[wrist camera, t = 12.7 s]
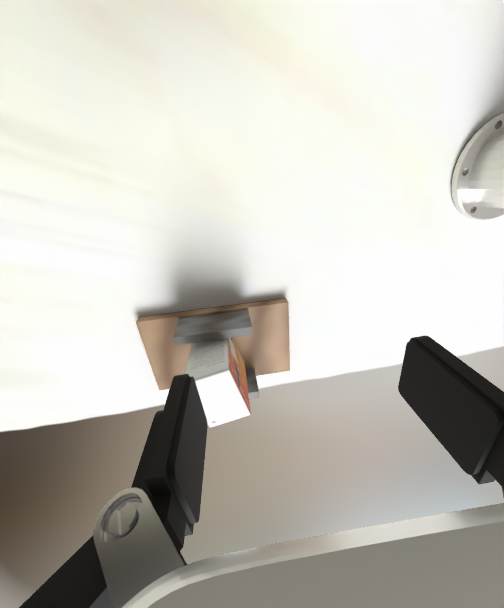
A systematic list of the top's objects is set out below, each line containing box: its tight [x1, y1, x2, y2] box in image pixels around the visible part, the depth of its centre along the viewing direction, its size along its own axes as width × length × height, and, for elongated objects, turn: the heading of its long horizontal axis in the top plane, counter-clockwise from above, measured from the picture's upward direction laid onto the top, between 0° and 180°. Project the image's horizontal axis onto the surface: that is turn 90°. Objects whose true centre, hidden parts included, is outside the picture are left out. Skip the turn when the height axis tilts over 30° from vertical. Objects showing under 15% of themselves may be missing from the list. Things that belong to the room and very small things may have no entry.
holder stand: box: [136, 298, 290, 399], centre depth 36 cm, size 22×13×6 cm, turn 95°
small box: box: [185, 337, 251, 427], centre depth 33 cm, size 8×6×10 cm
